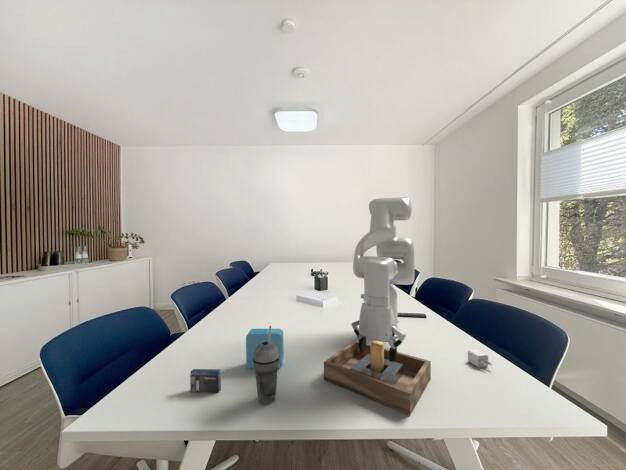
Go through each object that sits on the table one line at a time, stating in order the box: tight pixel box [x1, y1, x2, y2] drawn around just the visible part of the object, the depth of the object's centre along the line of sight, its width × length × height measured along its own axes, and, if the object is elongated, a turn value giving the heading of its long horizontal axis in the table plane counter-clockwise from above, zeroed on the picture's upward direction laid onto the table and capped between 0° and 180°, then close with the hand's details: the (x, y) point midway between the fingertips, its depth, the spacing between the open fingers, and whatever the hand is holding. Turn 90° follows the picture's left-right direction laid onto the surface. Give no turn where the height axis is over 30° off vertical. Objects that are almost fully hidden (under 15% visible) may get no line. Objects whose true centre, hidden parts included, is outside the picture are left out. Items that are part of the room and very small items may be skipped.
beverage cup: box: [253, 325, 280, 406], centre depth 71 cm, size 7×7×20 cm
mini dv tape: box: [189, 368, 222, 394], centre depth 75 cm, size 8×2×6 cm, turn 87°
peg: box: [369, 340, 385, 373], centre depth 80 cm, size 4×4×10 cm
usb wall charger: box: [467, 348, 493, 368], centre depth 87 cm, size 4×7×4 cm, turn 9°
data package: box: [245, 328, 285, 370], centre depth 89 cm, size 12×4×12 cm, turn 89°
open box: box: [323, 339, 432, 416], centre depth 80 cm, size 20×26×6 cm
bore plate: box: [350, 354, 403, 385], centre depth 80 cm, size 12×12×3 cm
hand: (377, 355), depth 80 cm, fingers open, 9 cm apart
